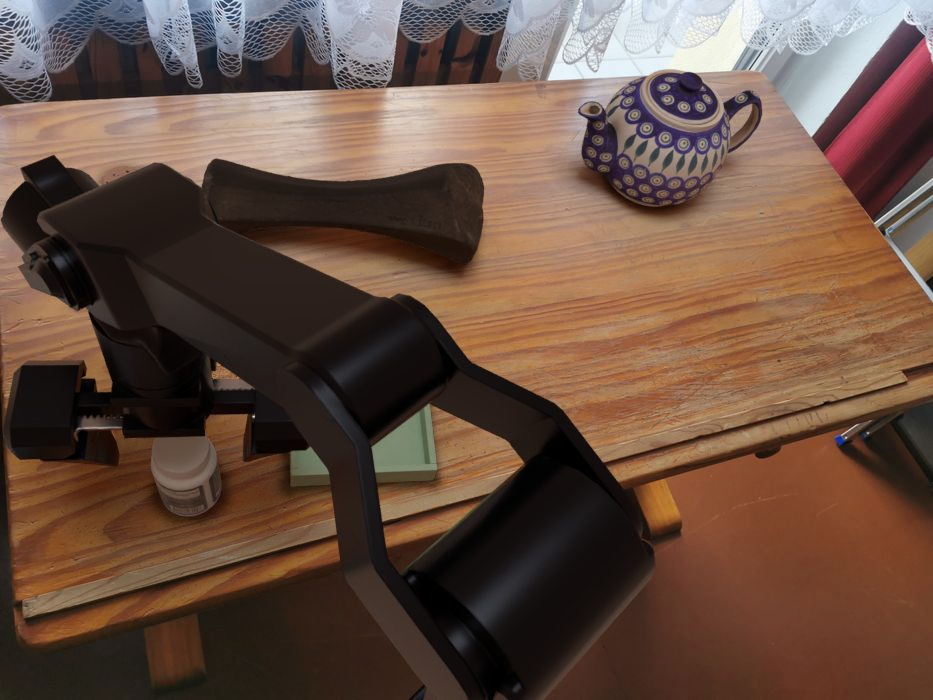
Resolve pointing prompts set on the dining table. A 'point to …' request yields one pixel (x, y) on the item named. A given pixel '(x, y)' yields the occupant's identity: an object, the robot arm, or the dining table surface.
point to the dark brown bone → (357, 204)
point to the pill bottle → (186, 474)
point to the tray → (381, 456)
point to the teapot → (664, 136)
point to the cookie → (117, 173)
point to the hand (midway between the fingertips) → (182, 458)
